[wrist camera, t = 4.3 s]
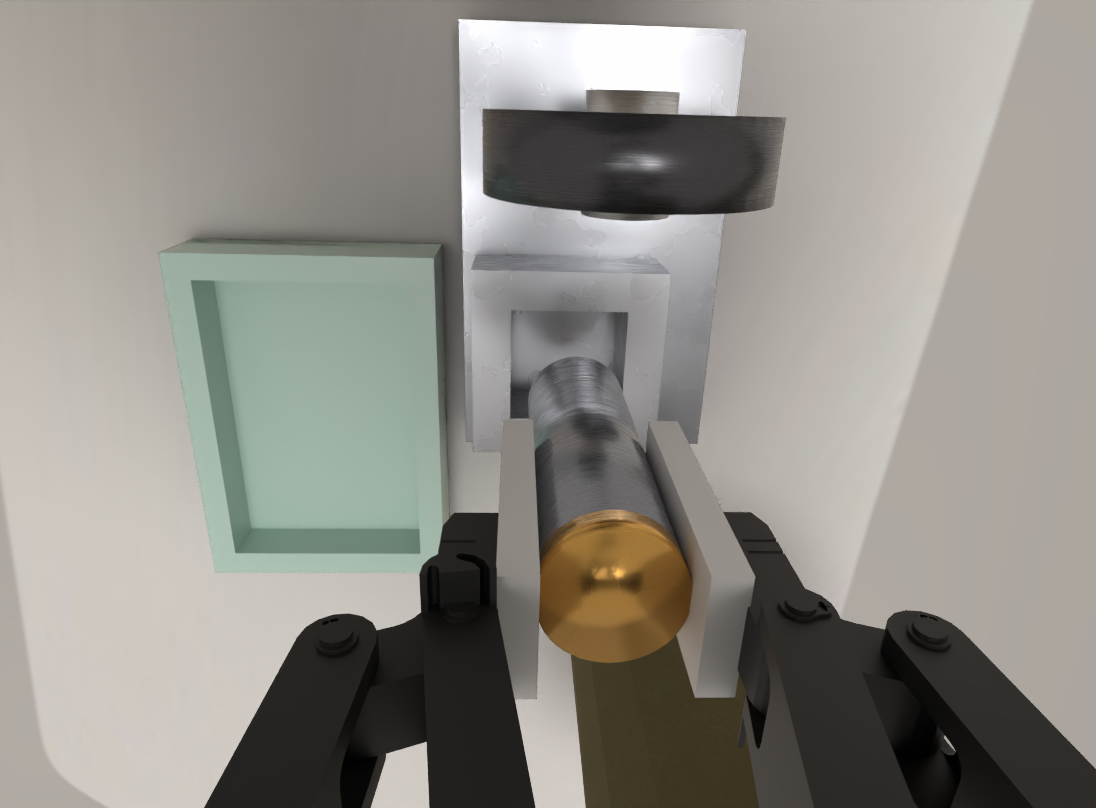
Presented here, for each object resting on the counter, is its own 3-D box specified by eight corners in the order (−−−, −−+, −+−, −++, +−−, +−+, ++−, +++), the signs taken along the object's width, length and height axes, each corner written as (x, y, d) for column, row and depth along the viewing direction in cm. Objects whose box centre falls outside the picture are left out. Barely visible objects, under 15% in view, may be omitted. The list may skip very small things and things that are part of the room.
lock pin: (528, 355, 22) (536, 532, 13) (625, 357, 22) (701, 532, 13) (527, 443, 23) (533, 663, 14) (619, 444, 23) (684, 662, 14)
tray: (192, 238, 29) (158, 252, 26) (441, 244, 29) (433, 258, 27) (239, 534, 34) (215, 572, 31) (450, 535, 35) (443, 572, 32)
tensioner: (462, 25, 26) (427, -27, 16) (730, 35, 27) (859, -10, 17) (469, 422, 32) (446, 565, 22) (687, 424, 33) (762, 565, 23)
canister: (533, 653, 38) (548, 1177, 19) (606, 488, 34) (711, 938, 16) (719, 701, 39) (897, 1223, 21) (807, 549, 36) (1115, 1018, 17)
